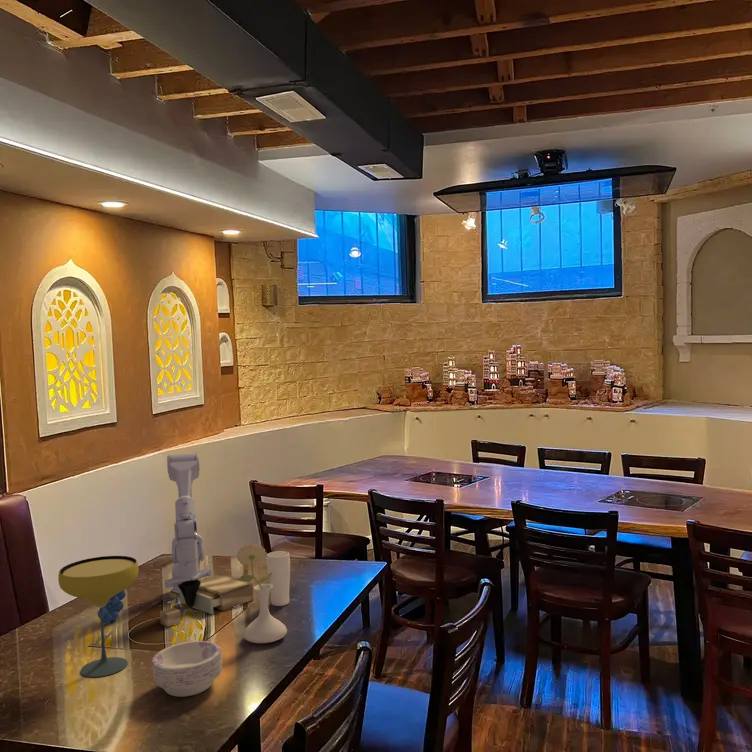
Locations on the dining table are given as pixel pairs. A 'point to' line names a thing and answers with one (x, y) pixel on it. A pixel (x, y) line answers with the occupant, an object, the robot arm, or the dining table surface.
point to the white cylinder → (279, 577)
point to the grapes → (112, 608)
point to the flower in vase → (260, 599)
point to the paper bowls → (187, 667)
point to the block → (170, 617)
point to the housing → (228, 590)
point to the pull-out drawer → (202, 602)
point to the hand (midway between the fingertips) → (190, 605)
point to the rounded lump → (209, 594)
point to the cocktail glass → (99, 597)
